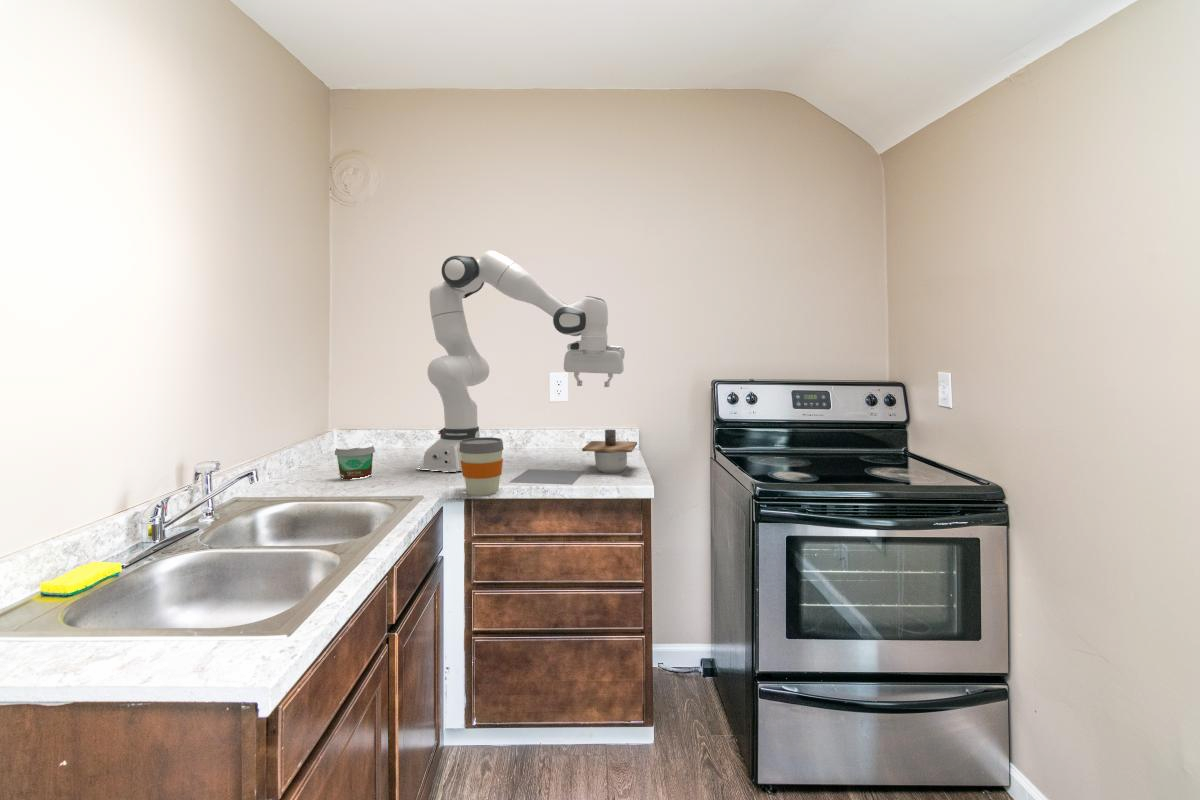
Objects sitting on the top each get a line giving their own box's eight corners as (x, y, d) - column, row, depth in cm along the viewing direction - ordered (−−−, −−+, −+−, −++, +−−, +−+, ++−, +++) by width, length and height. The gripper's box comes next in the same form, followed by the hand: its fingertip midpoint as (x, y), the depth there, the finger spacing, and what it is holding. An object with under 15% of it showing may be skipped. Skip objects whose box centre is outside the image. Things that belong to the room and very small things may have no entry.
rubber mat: (508, 483, 189) (508, 482, 189) (528, 470, 208) (528, 469, 208) (572, 485, 185) (572, 484, 185) (586, 472, 205) (586, 470, 205)
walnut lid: (582, 451, 199) (581, 433, 198) (591, 443, 214) (591, 426, 214) (631, 452, 196) (631, 434, 195) (637, 444, 212) (637, 427, 211)
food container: (337, 482, 193) (335, 451, 192) (335, 479, 198) (334, 448, 197) (378, 478, 199) (377, 447, 198) (376, 474, 204) (374, 444, 203)
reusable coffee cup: (504, 485, 186) (502, 436, 185) (505, 495, 174) (503, 443, 172) (461, 487, 184) (460, 438, 183) (459, 498, 172) (457, 444, 170)
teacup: (624, 475, 198) (624, 451, 197) (591, 474, 200) (591, 450, 200) (630, 467, 212) (630, 444, 211) (599, 466, 214) (599, 443, 213)
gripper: (626, 346, 208) (625, 386, 210) (567, 344, 212) (566, 384, 214) (623, 346, 202) (622, 388, 204) (562, 344, 206) (562, 385, 208)
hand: (593, 386), depth 209 cm, fingers open, 8 cm apart
